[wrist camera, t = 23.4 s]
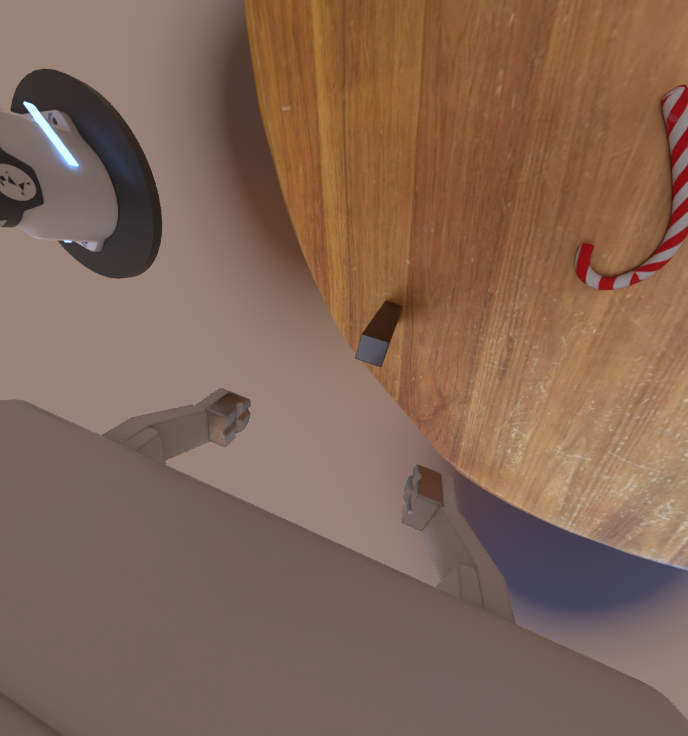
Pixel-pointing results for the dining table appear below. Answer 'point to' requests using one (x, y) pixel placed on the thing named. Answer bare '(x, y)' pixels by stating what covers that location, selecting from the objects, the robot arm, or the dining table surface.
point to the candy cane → (684, 128)
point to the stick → (378, 334)
